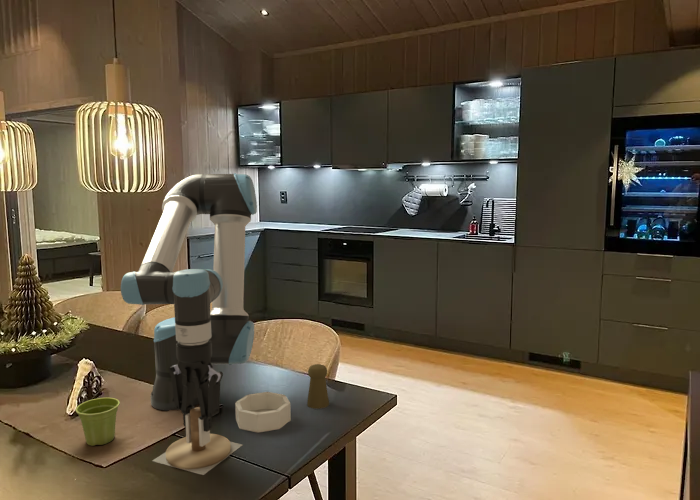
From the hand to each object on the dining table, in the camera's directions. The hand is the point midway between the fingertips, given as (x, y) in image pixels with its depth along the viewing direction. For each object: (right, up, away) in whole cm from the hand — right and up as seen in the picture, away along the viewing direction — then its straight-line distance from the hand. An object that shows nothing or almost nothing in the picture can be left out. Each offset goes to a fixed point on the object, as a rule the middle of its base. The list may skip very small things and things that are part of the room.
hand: (198, 441), depth 121 cm
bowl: (+12, -1, +17) cm, 21 cm away
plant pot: (-25, -2, +7) cm, 27 cm away
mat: (0, -3, 0) cm, 3 cm away
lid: (0, -2, 0) cm, 2 cm away
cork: (+25, +1, +27) cm, 37 cm away
